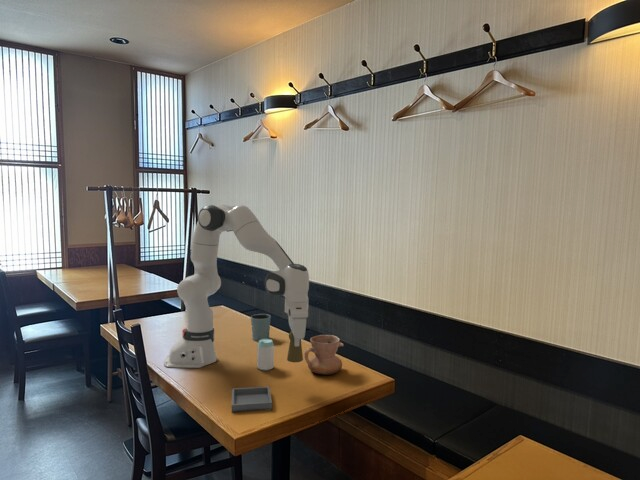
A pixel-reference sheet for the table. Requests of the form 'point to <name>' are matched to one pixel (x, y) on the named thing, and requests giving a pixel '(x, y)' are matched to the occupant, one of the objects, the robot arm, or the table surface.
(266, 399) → the tray
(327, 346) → the ceramic jug
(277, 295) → the robot arm
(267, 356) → the can
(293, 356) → the olive tapered rounded piece
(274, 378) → the table surface
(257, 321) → the grey teal cup
